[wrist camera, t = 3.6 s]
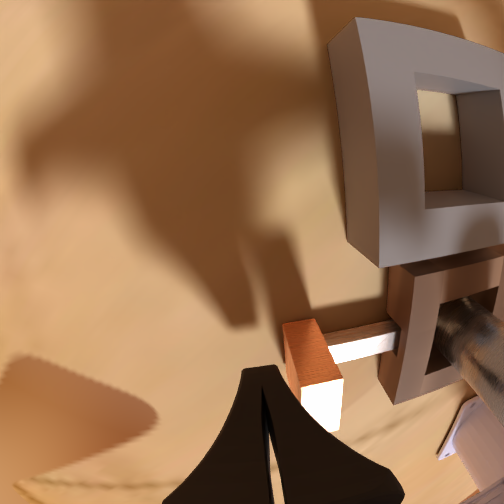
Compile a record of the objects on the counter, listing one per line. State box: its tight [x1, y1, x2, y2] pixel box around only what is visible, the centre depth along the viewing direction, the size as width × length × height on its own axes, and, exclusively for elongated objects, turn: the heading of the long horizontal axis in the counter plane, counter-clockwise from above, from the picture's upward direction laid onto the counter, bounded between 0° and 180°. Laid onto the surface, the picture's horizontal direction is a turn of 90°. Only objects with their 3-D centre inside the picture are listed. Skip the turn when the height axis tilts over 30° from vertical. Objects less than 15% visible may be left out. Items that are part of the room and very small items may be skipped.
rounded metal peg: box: [433, 296, 504, 427], centre depth 10 cm, size 3×3×8 cm
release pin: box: [282, 318, 401, 432], centre depth 11 cm, size 6×3×4 cm, turn 97°
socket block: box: [378, 244, 504, 405], centre depth 13 cm, size 7×7×2 cm
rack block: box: [327, 17, 504, 268], centre depth 10 cm, size 8×8×3 cm
